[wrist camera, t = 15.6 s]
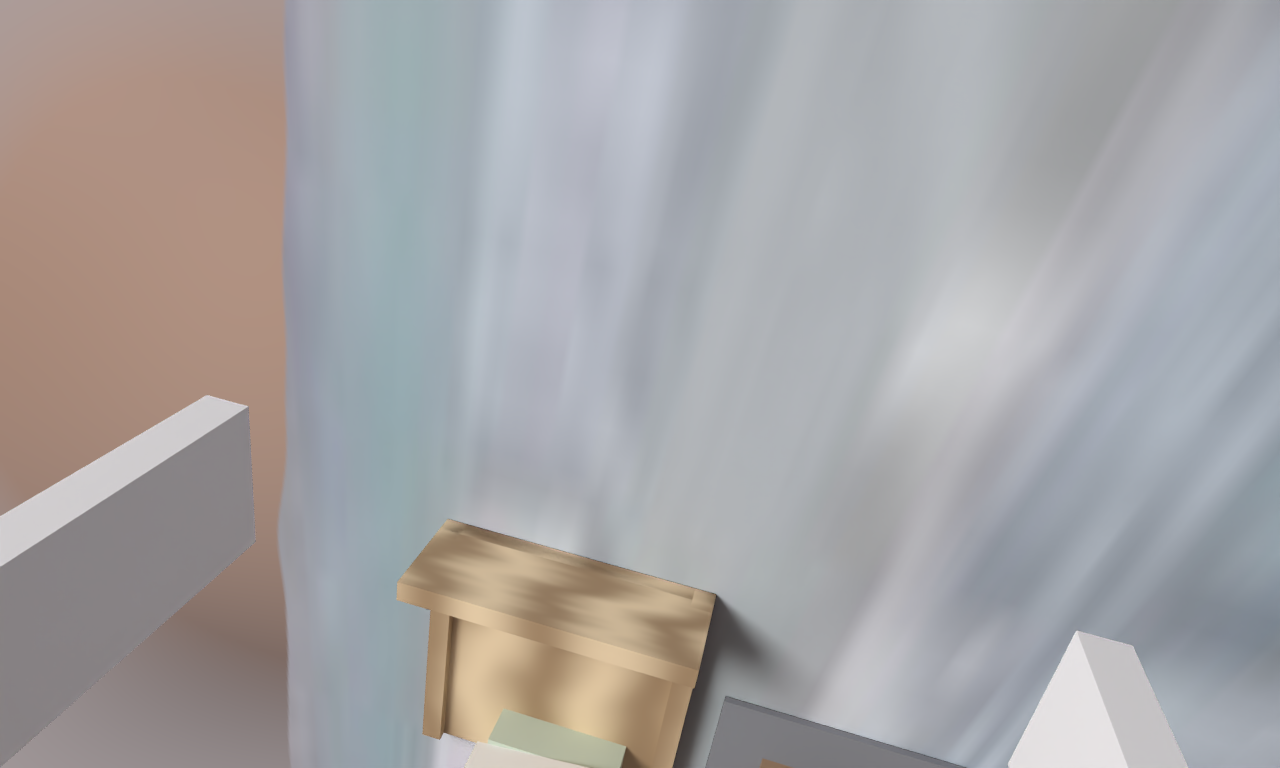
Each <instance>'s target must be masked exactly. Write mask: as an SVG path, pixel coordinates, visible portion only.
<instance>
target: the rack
mask: <svg viewBox="0 0 1280 768" xmlns="http://www.w3.org/2000/svg"><path fill="white" fill-rule="evenodd" d="M715 598H716V594H713V593H709V592H706V591H702V590H699V589H695V588H692V587H688V586H685V585H681V584H677V583H674V582H670V581H667V580H663V579H660V578H656V577H653V576H649V575H645V574H642V573H638V572H635V571H631V570H628V569H624V568H620V567H617V566H613V565H610V564H606V563H603V562H599V561H596V560H592V559H588V558H585V557H581V556H578V555H574V554H571V553H567V552H564V551H560V550H556V549H553V548H549V547H546V546H542V545H539V544H535V543H532V542H528V541H524V540H521V539H517V538H514V537H510V536H507V535H503V534H499V533H496V532H492V531H489V530H485V529H482V528H478V527H475V526H471V525H467V524H464V523H460V522H457V521H453V520H450V519H447V521H446V522H445V523H444V524H443V526H442V527H441V528H440V529H439V531H438V532H437V533H436V534H435V536H434V537H433V538H432V539H431V541H430V542H429V543H428V544H427V546H426V547H425V548H424V549H423V551H422V552H421V553H420V554H419V556H418V557H417V558H416V559H415V561H414V562H413V563H412V564H411V566H410V567H409V568H408V569H407V571H406V572H405V573H404V574H403V576H402V577H401V578H400V579H399V581H398V582H397V600H399V601H402V602H405V603H409V604H412V605H415V606H419V607H422V608H425V609H429V610H431V611H430V627H429V642H428V658H427V673H426V689H425V704H424V719H423V734H424V735H427V736H430V737H433V738H436V739H439V740H440V738H441V737H442V735H443V733H447V734H450V735H453V736H456V737H459V738H463V739H466V740H469V741H472V742H475V743H477V741H479V742H483V743H487V744H488V739H489V737H490V735H491V733H492V731H493V729H494V727H495V725H496V723H497V721H498V719H499V717H500V715H501V713H502V711H503V709H507V710H511V711H514V712H517V713H520V714H524V715H527V716H530V717H533V718H536V719H540V720H543V721H546V722H549V723H552V724H556V725H559V726H562V727H565V728H568V729H572V730H575V731H578V732H581V733H585V734H588V735H591V736H594V737H597V738H601V739H604V740H607V741H610V742H613V743H617V744H620V745H623V746H626V750H625V755H624V759H623V764H622V768H672V767H673V763H674V759H675V755H676V751H677V747H678V743H679V739H680V736H681V732H682V728H683V724H684V720H685V716H686V712H687V708H688V705H689V701H690V697H691V693H692V689H693V688H695V684H696V681H697V677H698V673H699V669H700V664H701V660H702V656H703V651H704V647H705V642H706V638H707V633H708V629H709V625H710V620H711V616H712V611H713V607H714V602H715Z"/></svg>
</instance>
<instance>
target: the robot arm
mask: <svg viewBox="0 0 1280 768" xmlns="http://www.w3.org/2000/svg"><path fill="white" fill-rule="evenodd" d="M255 541H256V540H255V522H254V503H253V483H252V464H251V445H250V426H249V407H248V406H245V405H241V404H237V403H234V402H230V401H226V400H223V399H219V398H215V397H212V396H208V395H206V396H205V397H203V398H201V399H200V400H198V401H196V402H194V403H193V404H191V405H189V406H188V407H186V408H184V409H183V410H181V411H179V412H177V413H176V414H174V415H172V416H171V417H169V418H167V419H165V420H164V421H162V422H160V423H159V424H157V425H155V426H154V427H152V428H150V429H148V430H147V431H145V432H143V433H142V434H140V435H138V436H136V437H135V438H133V439H131V440H130V441H128V442H126V443H125V444H123V445H121V446H119V447H118V448H116V449H115V450H113V451H111V452H109V453H108V454H106V455H104V456H102V457H101V458H99V459H97V460H95V461H94V462H92V463H90V464H89V465H87V466H85V467H84V468H82V469H80V470H78V471H77V472H75V473H73V474H72V475H70V476H68V477H67V478H65V479H63V480H61V481H60V482H58V483H56V484H55V485H53V486H51V487H50V488H48V489H46V490H44V491H43V492H41V493H39V494H38V495H36V496H34V497H32V498H31V499H29V500H27V501H26V502H24V503H22V504H20V505H19V506H17V507H15V508H14V509H12V510H10V511H9V512H7V513H5V514H3V515H2V516H0V767H1V766H2V765H3V764H5V763H6V762H7V761H8V760H9V759H10V758H11V757H13V756H14V755H15V754H16V753H17V752H18V751H19V750H21V748H23V747H24V746H25V745H26V744H27V743H28V742H29V741H31V740H32V739H33V738H34V737H35V736H36V735H37V734H39V733H40V732H41V731H42V730H43V729H44V728H45V727H47V726H48V725H49V724H50V723H51V722H52V721H53V720H54V719H56V718H57V717H58V716H59V715H60V714H61V713H62V712H63V711H65V710H66V709H67V708H68V707H69V706H70V705H71V704H73V702H75V701H76V700H77V699H78V698H79V697H80V696H82V695H83V694H84V693H85V692H86V691H87V690H88V689H89V688H91V687H92V686H93V685H94V684H95V683H96V682H97V681H99V679H101V678H102V677H103V676H104V675H105V674H106V673H108V672H109V671H110V670H111V669H112V668H113V667H114V666H116V665H117V664H118V663H119V662H120V661H121V660H122V659H124V658H125V657H126V656H127V655H128V654H129V653H130V652H131V651H132V650H134V649H135V648H136V647H137V646H138V645H139V644H141V642H143V641H144V640H145V639H146V638H147V637H148V636H150V635H151V634H152V633H153V632H154V631H155V630H156V629H157V628H159V627H160V626H161V625H162V624H163V623H164V622H165V621H166V620H167V619H169V618H170V617H171V616H172V615H173V614H174V613H176V612H177V611H178V610H179V609H180V608H181V607H182V606H183V605H185V604H186V603H187V602H188V601H189V600H190V599H191V598H193V597H194V596H195V595H196V594H197V593H198V592H199V591H201V590H202V589H203V588H204V587H205V586H206V585H207V584H208V583H210V582H211V581H212V580H213V579H214V578H215V577H216V576H217V575H219V573H221V572H222V571H223V570H224V569H225V568H227V567H228V566H229V565H230V564H231V563H232V562H233V561H234V560H236V559H237V558H238V557H239V556H240V555H241V554H242V553H243V552H245V551H246V550H247V549H248V548H249V547H250V546H251V545H252V544H254V543H255ZM1008 766H1009V768H1188V766H1187V763H1186V761H1185V759H1184V757H1183V755H1182V752H1181V750H1180V748H1179V746H1178V744H1177V742H1176V739H1175V737H1174V735H1173V733H1172V731H1171V728H1170V726H1169V724H1168V722H1167V720H1166V717H1165V715H1164V713H1163V711H1162V709H1161V707H1160V704H1159V702H1158V700H1157V698H1156V696H1155V693H1154V691H1153V689H1152V687H1151V685H1150V683H1149V680H1148V678H1147V676H1146V674H1145V672H1144V669H1143V667H1142V665H1141V663H1140V661H1139V659H1138V656H1137V654H1136V652H1135V650H1134V648H1133V646H1132V645H1128V644H1124V643H1121V642H1117V641H1113V640H1110V639H1106V638H1102V637H1099V636H1095V635H1091V634H1088V633H1084V632H1080V631H1076V632H1075V634H1074V636H1073V638H1072V640H1071V642H1070V644H1069V646H1068V648H1067V650H1066V652H1065V654H1064V656H1063V658H1062V660H1061V662H1060V664H1059V666H1058V667H1057V669H1056V671H1055V673H1054V675H1053V677H1052V679H1051V681H1050V683H1049V685H1048V687H1047V689H1046V691H1045V693H1044V695H1043V697H1042V699H1041V701H1040V702H1039V704H1038V706H1037V708H1036V710H1035V712H1034V714H1033V716H1032V718H1031V720H1030V722H1029V724H1028V726H1027V728H1026V730H1025V732H1024V734H1023V736H1022V738H1021V739H1020V741H1019V743H1018V745H1017V747H1016V749H1015V751H1014V753H1013V755H1012V757H1011V759H1010V761H1009V763H1008Z"/></svg>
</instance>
